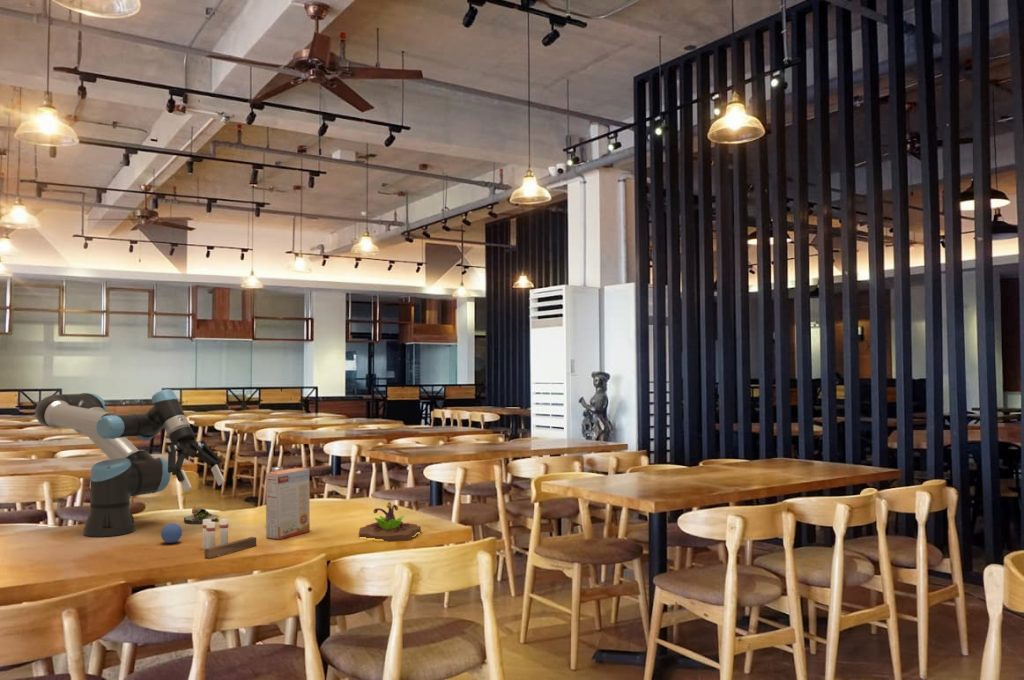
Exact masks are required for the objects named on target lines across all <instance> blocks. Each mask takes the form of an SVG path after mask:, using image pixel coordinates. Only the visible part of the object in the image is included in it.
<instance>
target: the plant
mask: <svg viewBox="0 0 1024 680" xmlns="http://www.w3.org/2000/svg"><path fill="white" fill-rule="evenodd" d="M386 509H388V512H387V511H386V510H385V509H383V508H379V507H378V508H374V509H373V514H377V513H378V511H380V512H382V513H384V515H385V516H382V515H380V516H379V518H377V517H373V519H374V520H375V521H376V522H372V523H371V524H366V525H365V526H363V527H360V528H359V531H358V538H359V537H366V538H375V539H383V540H384V541H387V543H389V542H405V541H406V542H408V541H411V540H412V539H413V538H412V536H414V535H415V534H416V533H417V532H420V531H421V532H422V529H421V526H419V525H418V524H415V523H410V522H406V523H405V522H404V521H402V520H403V519H404V518H405V515H403V516H399V517H398V518H396V516H395V513H394V511H398V510H399V507H398V506H397V505H396V504H393V505H392V503H391V502H387V504H386ZM411 538H412V539H411Z"/></svg>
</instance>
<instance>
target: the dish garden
mask: <svg viewBox="0 0 1024 680" xmlns="http://www.w3.org/2000/svg"><path fill="white" fill-rule="evenodd" d="M193 504H195V502H193ZM203 507H204V506H203V504H197V505H196V504H195V505H194V506H193V507H192V510H191V515H188V516H184V517H183V522H184V524H185V525H186V524H187V525H203V519H211V522H214V521H216V520H217V519H219V517H220V515H218V514H211V513H210V512H209V511H208V510H207V509H205V508H203Z"/></svg>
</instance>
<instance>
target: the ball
mask: <svg viewBox="0 0 1024 680" xmlns="http://www.w3.org/2000/svg"><path fill="white" fill-rule="evenodd" d="M182 535H183V529H182V527H181V526H180V525H179V524H177V523H174V522H173V523H168V524H166V525H164V526H163V527H162V529H161V533H160V536H161V540H163V542H164V543H166V544H175V543H177V542H178V541H180V539H181V538H182Z"/></svg>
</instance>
